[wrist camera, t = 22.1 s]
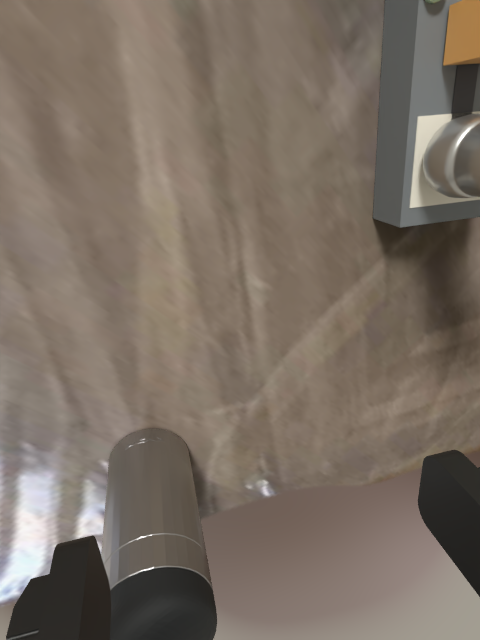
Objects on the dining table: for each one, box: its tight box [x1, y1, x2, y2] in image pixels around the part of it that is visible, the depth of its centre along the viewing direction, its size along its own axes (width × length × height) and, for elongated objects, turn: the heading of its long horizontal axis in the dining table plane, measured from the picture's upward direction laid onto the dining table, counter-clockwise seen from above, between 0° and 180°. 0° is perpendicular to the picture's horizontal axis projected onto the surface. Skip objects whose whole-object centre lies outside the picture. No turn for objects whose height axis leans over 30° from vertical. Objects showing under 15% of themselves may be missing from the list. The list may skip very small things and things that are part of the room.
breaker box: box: [373, 0, 480, 227], centre depth 38 cm, size 20×10×6 cm, turn 4°
